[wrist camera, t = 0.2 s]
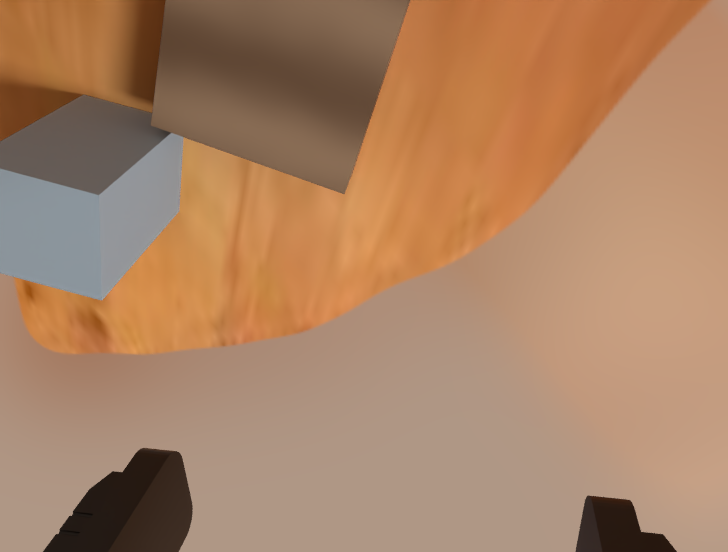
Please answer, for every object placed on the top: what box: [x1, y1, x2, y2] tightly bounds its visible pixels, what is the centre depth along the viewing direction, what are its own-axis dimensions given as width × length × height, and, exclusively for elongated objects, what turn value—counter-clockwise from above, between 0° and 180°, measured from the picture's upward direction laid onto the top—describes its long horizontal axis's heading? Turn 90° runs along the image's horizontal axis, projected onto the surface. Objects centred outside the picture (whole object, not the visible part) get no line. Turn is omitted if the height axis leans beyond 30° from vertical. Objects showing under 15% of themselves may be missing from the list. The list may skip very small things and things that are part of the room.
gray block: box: [0, 95, 183, 300], centre depth 30 cm, size 6×6×9 cm
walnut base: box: [151, 0, 410, 194], centre depth 28 cm, size 10×10×3 cm
